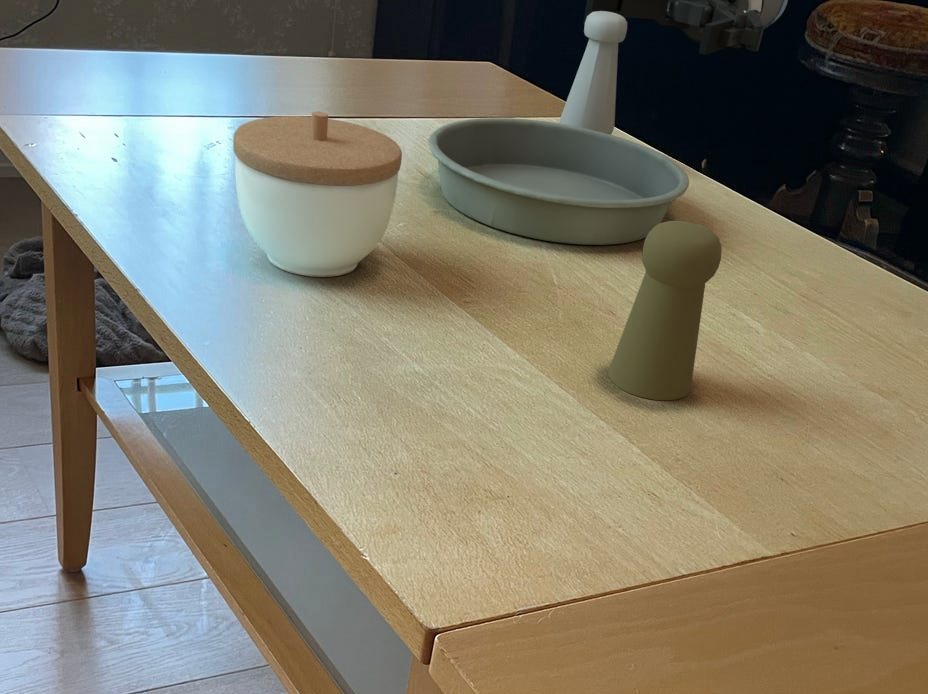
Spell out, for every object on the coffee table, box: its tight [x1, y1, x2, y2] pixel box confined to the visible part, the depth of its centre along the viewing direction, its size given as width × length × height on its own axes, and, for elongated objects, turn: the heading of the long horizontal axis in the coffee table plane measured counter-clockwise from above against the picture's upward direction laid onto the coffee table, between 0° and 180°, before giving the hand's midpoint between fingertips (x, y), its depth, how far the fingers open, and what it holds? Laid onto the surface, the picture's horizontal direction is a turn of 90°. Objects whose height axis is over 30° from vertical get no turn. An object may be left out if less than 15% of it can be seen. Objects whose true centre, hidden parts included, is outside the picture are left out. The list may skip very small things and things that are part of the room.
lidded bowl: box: [232, 111, 403, 278], centre depth 89 cm, size 13×13×11 cm
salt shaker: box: [559, 11, 628, 135], centre depth 121 cm, size 6×6×13 cm
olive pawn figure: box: [607, 220, 722, 401], centre depth 79 cm, size 6×6×11 cm
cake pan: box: [427, 117, 690, 246], centre depth 109 cm, size 25×25×4 cm
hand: (645, 24), depth 122 cm, fingers open, 13 cm apart
